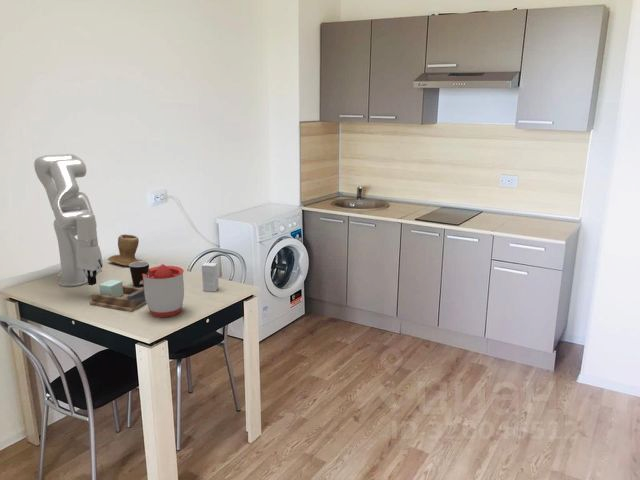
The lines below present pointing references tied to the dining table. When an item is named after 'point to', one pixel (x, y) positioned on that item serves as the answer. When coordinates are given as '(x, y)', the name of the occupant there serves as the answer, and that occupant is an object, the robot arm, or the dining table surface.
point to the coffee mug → (138, 272)
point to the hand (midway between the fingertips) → (92, 284)
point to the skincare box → (210, 276)
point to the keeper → (111, 288)
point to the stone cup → (126, 250)
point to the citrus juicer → (164, 290)
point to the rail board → (121, 299)
